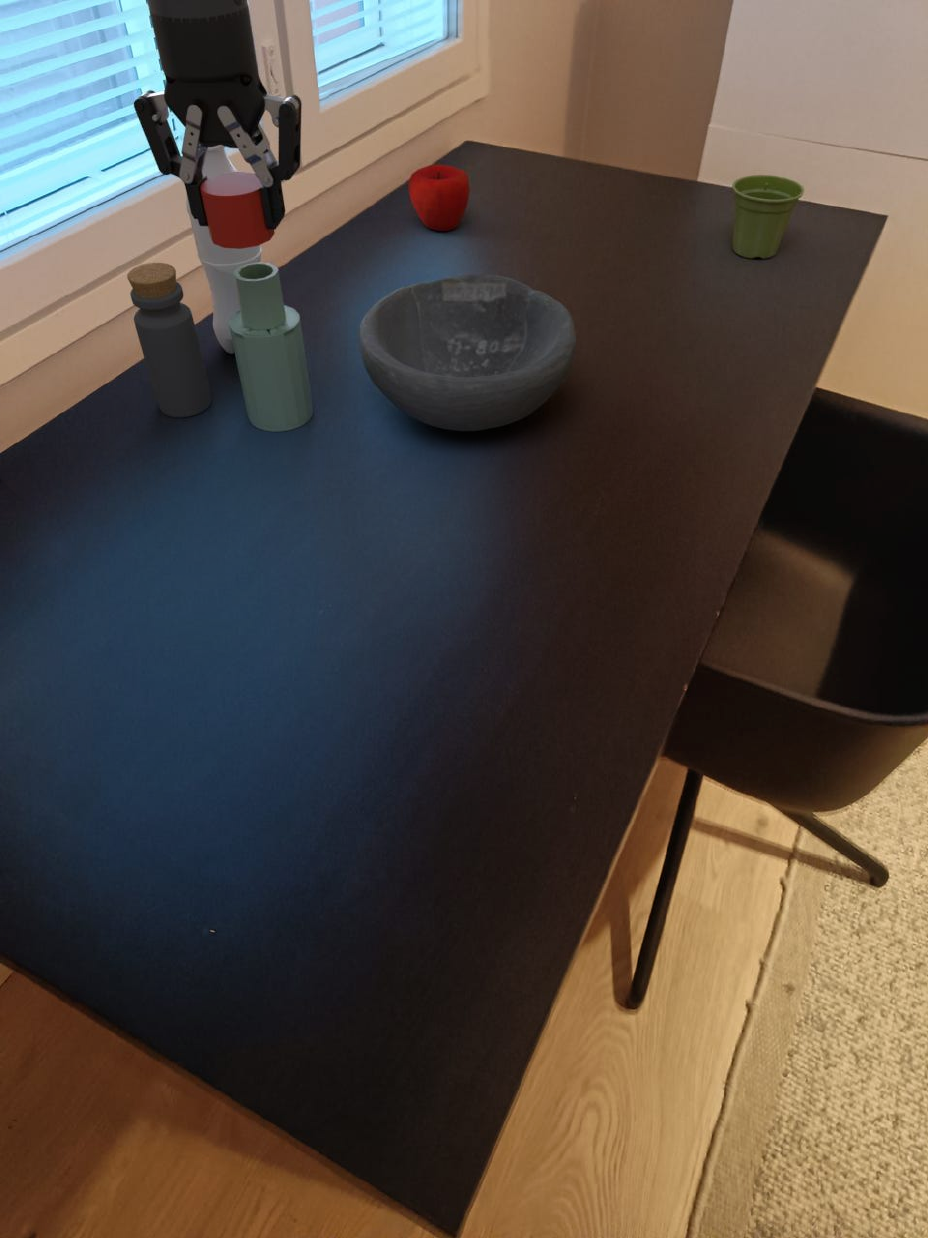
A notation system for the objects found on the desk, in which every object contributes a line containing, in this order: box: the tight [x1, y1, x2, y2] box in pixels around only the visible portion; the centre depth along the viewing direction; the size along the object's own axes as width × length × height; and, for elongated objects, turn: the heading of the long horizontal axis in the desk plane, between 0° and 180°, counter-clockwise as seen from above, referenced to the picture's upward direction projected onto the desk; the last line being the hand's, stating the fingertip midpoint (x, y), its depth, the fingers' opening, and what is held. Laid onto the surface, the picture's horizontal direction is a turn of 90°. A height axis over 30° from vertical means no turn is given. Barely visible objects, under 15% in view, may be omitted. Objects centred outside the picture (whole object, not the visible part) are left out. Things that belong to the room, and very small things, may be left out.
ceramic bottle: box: [229, 261, 314, 433], centre depth 92 cm, size 7×7×16 cm
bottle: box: [126, 262, 213, 418], centre depth 94 cm, size 6×6×15 cm
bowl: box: [359, 272, 577, 432], centre depth 96 cm, size 23×22×10 cm
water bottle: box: [185, 145, 263, 355], centre depth 100 cm, size 7×7×25 cm
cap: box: [200, 171, 275, 249], centre depth 80 cm, size 6×6×4 cm
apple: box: [408, 164, 470, 232], centre depth 131 cm, size 9×9×8 cm
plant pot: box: [731, 174, 805, 260], centre depth 124 cm, size 9×9×9 cm
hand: (240, 223), depth 80 cm, fingers closed on cap, 5 cm apart
